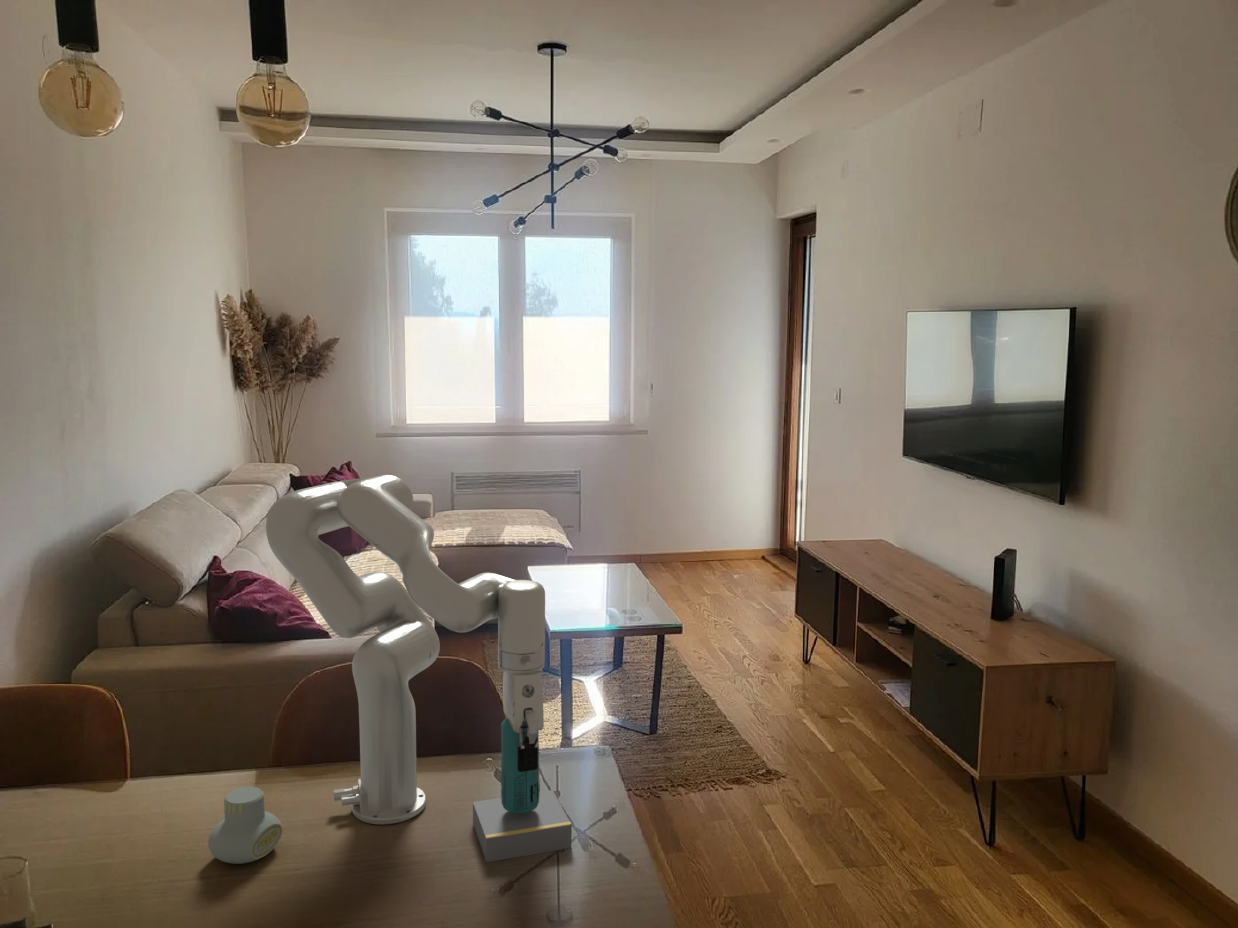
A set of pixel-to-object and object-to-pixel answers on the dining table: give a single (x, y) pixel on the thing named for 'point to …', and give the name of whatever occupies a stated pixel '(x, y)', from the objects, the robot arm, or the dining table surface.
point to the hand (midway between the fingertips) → (520, 756)
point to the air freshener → (244, 828)
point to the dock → (521, 828)
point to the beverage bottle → (517, 774)
